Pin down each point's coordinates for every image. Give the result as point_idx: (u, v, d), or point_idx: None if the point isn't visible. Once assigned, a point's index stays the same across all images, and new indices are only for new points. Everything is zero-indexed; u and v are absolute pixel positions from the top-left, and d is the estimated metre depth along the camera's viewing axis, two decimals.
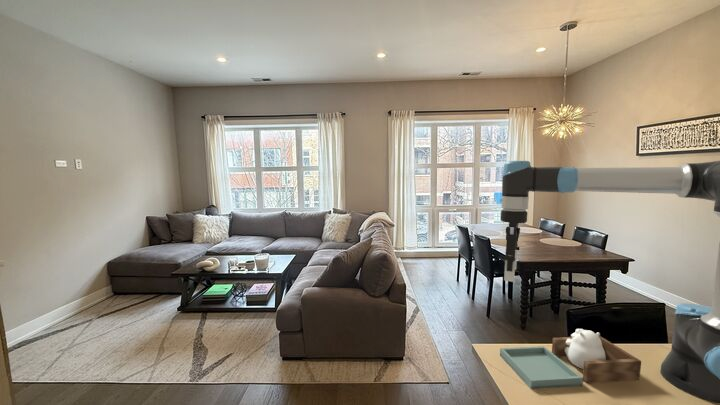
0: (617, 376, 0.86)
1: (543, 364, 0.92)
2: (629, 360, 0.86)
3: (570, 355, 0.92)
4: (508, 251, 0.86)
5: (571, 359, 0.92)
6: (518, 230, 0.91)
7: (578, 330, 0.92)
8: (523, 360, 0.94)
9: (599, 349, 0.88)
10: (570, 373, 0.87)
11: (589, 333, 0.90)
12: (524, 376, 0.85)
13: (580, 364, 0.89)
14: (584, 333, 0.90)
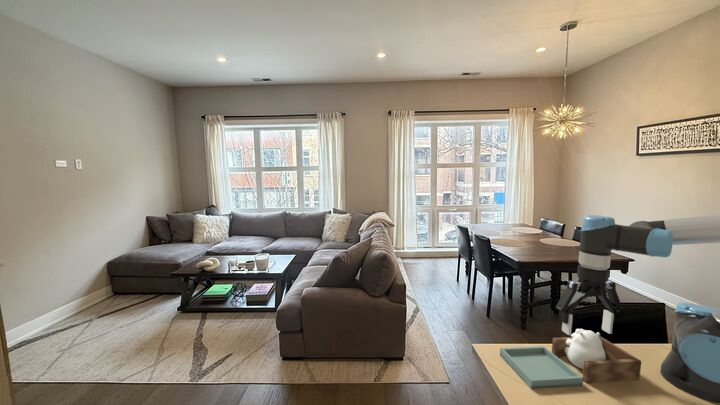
0: (617, 376, 0.86)
1: (543, 364, 0.92)
2: (629, 360, 0.86)
3: (570, 355, 0.92)
4: (560, 302, 0.90)
5: (571, 359, 0.92)
6: (590, 288, 0.88)
7: (578, 330, 0.92)
8: (523, 360, 0.94)
9: (599, 349, 0.88)
10: (570, 373, 0.87)
11: (589, 333, 0.90)
12: (524, 376, 0.85)
13: (580, 364, 0.89)
14: (584, 333, 0.90)
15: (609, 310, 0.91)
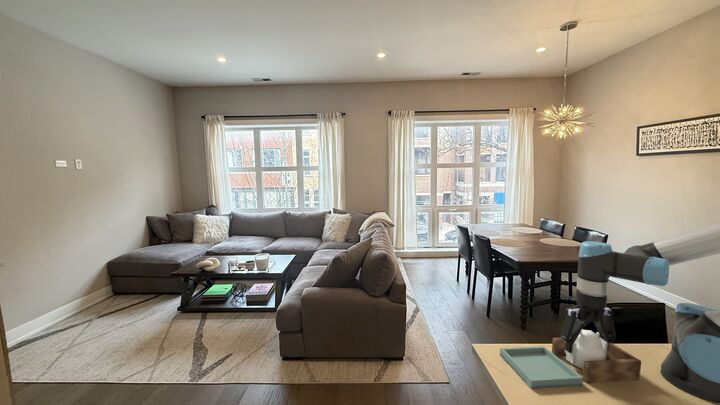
0: (617, 376, 0.86)
1: (543, 364, 0.92)
2: (629, 360, 0.86)
3: None
4: (563, 331, 0.91)
5: None
6: (588, 314, 0.89)
7: None
8: (523, 360, 0.94)
9: (599, 349, 0.88)
10: (570, 373, 0.87)
11: (589, 333, 0.90)
12: (524, 376, 0.85)
13: (580, 364, 0.89)
14: (584, 333, 0.90)
15: (603, 338, 0.92)
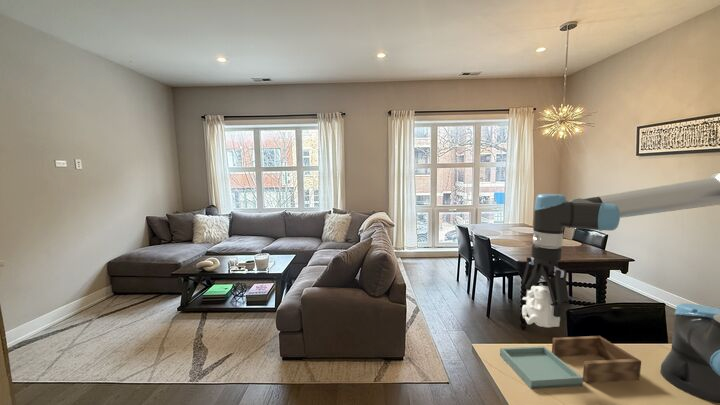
0: (617, 376, 0.86)
1: (543, 364, 0.92)
2: (629, 360, 0.86)
3: None
4: (562, 297, 0.81)
5: None
6: None
7: (545, 290, 0.86)
8: (523, 360, 0.94)
9: None
10: (570, 373, 0.87)
11: None
12: (524, 376, 0.85)
13: None
14: None
15: (530, 288, 0.94)
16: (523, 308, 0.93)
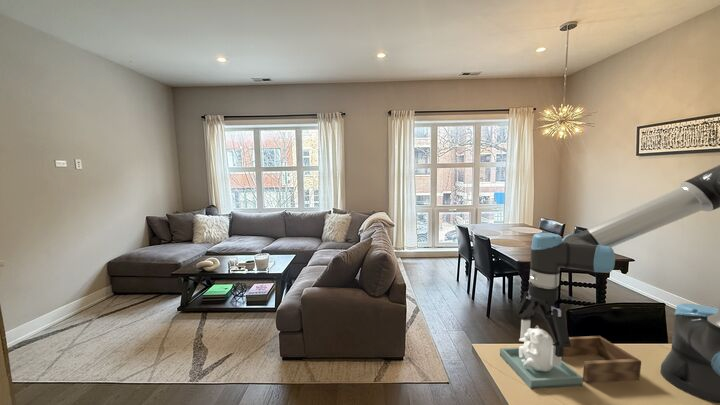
0: (617, 376, 0.86)
1: None
2: (629, 360, 0.86)
3: (546, 364, 0.86)
4: (563, 337, 0.80)
5: (548, 368, 0.86)
6: None
7: (541, 334, 0.88)
8: None
9: None
10: (570, 373, 0.87)
11: (544, 331, 0.90)
12: (524, 376, 0.85)
13: None
14: (545, 334, 0.88)
15: (525, 318, 0.97)
16: (520, 349, 0.94)
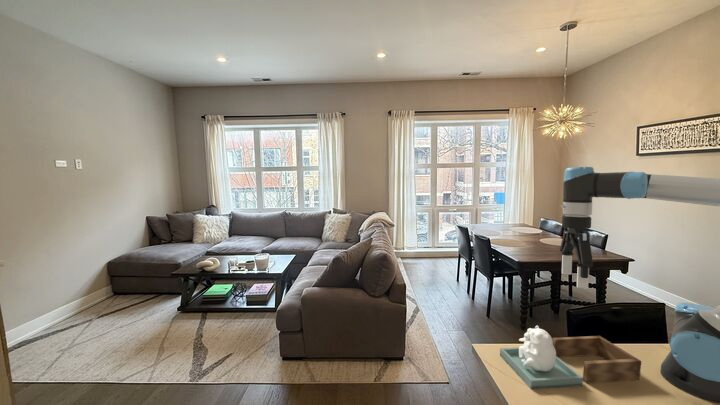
0: (617, 376, 0.86)
1: None
2: (629, 360, 0.86)
3: (546, 364, 0.86)
4: (585, 258, 0.86)
5: (548, 368, 0.86)
6: None
7: (541, 334, 0.88)
8: None
9: None
10: (570, 373, 0.87)
11: (544, 331, 0.90)
12: (524, 376, 0.85)
13: (553, 365, 0.87)
14: (545, 334, 0.88)
15: (566, 254, 1.01)
16: (520, 349, 0.94)
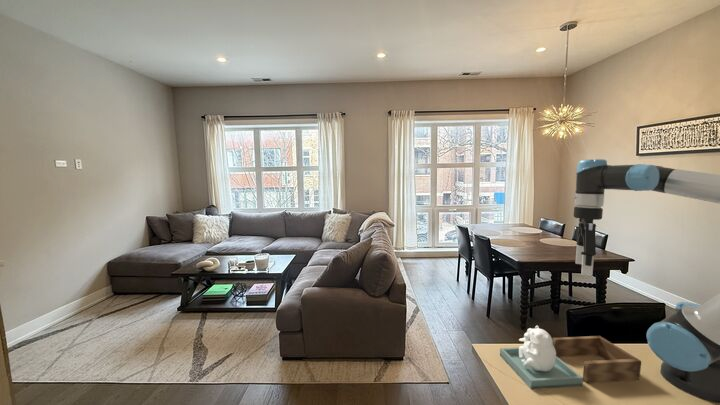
0: (617, 376, 0.86)
1: None
2: (629, 360, 0.86)
3: (546, 364, 0.86)
4: (588, 246, 0.90)
5: (548, 368, 0.86)
6: None
7: (541, 334, 0.88)
8: None
9: None
10: (570, 373, 0.87)
11: (544, 331, 0.90)
12: (524, 376, 0.85)
13: (553, 365, 0.87)
14: (545, 334, 0.88)
15: (581, 244, 1.04)
16: (520, 349, 0.94)
